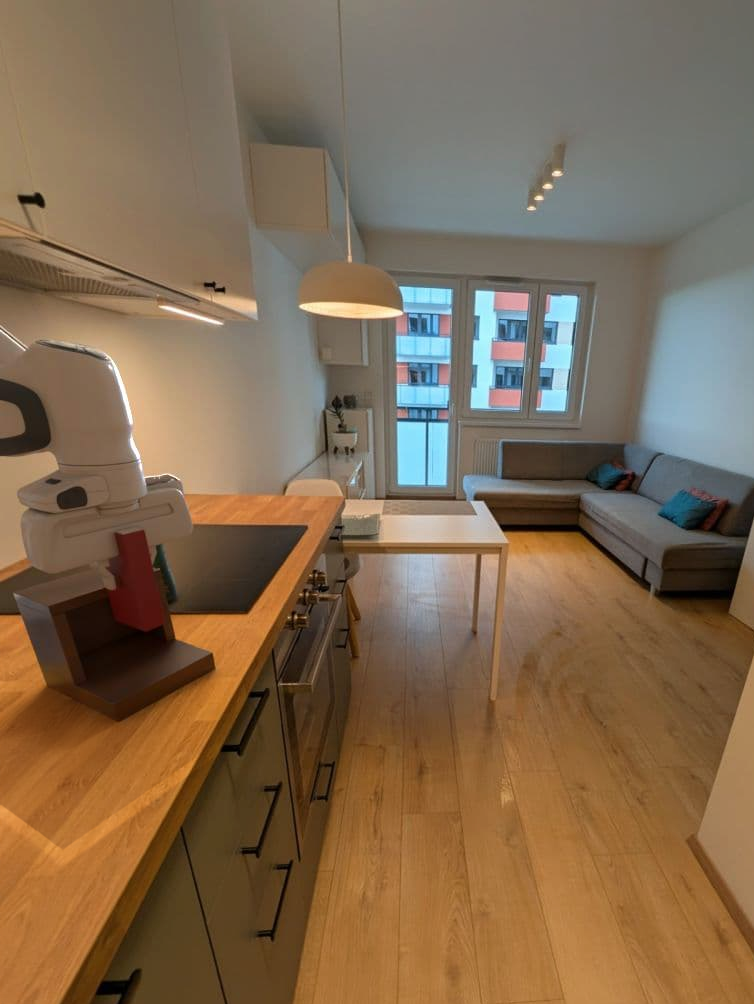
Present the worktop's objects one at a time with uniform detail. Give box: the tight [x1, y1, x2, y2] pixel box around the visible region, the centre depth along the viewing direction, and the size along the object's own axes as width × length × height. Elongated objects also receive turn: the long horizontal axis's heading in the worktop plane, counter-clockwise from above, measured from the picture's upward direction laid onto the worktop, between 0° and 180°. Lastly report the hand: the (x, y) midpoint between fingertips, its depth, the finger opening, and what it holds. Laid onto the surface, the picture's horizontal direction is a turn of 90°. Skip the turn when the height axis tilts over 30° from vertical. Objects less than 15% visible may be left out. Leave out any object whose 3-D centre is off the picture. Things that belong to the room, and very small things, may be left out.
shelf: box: [12, 568, 216, 723], centre depth 77 cm, size 18×16×16 cm
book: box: [105, 527, 165, 632], centre depth 70 cm, size 7×3×14 cm, turn 62°
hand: (130, 582), depth 71 cm, fingers closed on book, 3 cm apart
